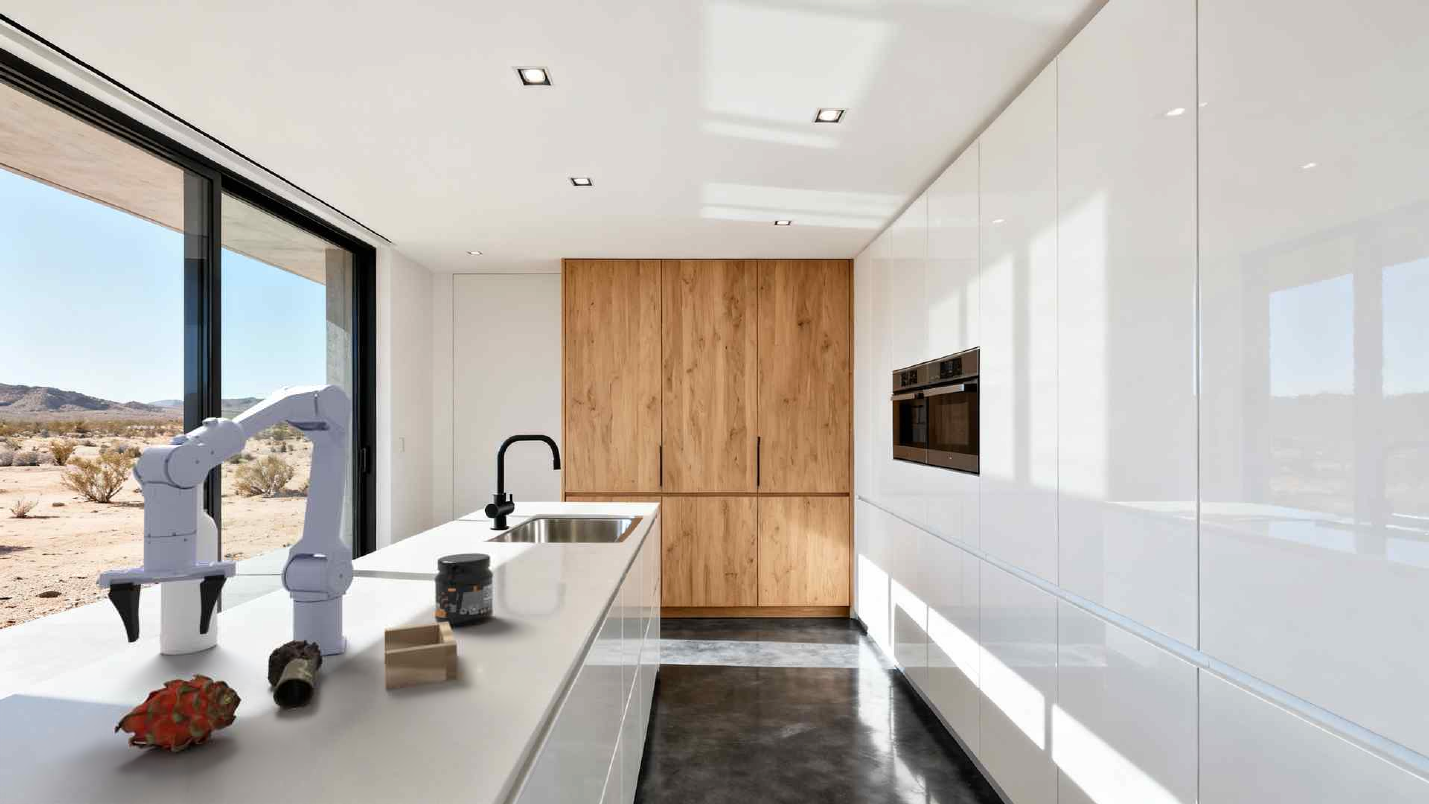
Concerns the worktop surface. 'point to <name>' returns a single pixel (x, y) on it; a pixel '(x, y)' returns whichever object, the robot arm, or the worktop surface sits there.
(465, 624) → the supplement container
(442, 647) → the light wooden open box
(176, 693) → the dragon fruit
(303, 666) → the metal pipe
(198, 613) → the bottle
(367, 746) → the worktop surface
